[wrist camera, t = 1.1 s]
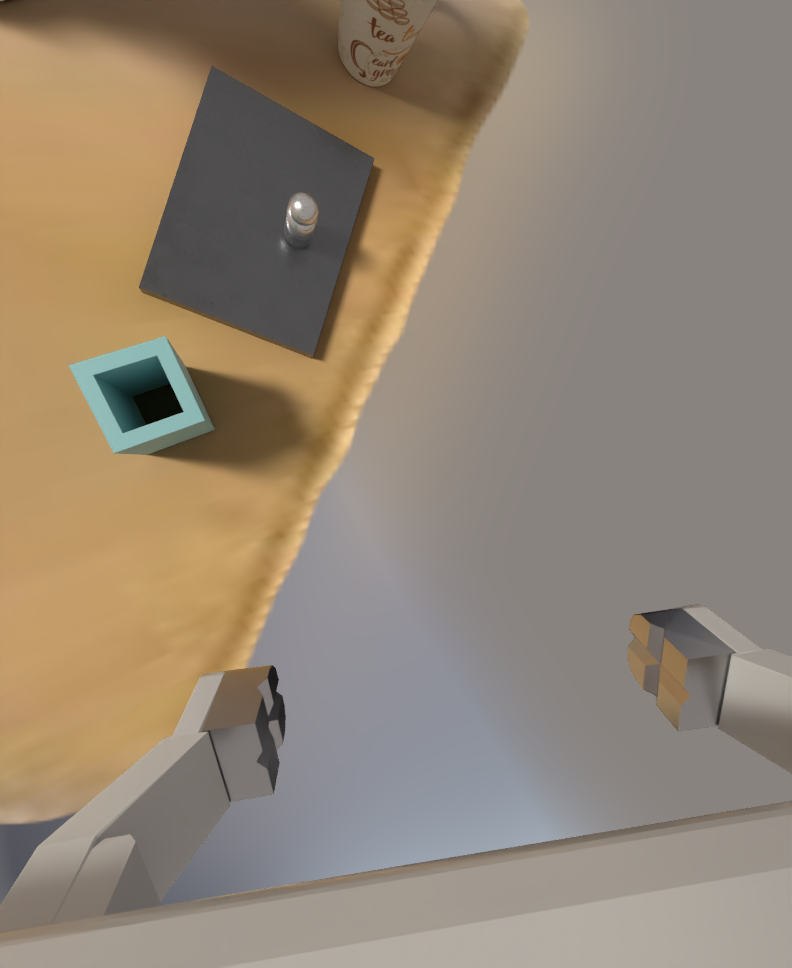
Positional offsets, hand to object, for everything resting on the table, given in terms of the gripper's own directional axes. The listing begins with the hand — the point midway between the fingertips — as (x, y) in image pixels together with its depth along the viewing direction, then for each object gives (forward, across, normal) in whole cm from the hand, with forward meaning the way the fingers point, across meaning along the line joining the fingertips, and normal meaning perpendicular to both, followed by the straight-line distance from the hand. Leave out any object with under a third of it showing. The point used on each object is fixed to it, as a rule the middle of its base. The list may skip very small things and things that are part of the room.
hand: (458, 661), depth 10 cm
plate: (+38, +8, -18) cm, 43 cm away
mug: (+46, -4, -35) cm, 58 cm away
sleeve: (+32, +19, -3) cm, 37 cm away
